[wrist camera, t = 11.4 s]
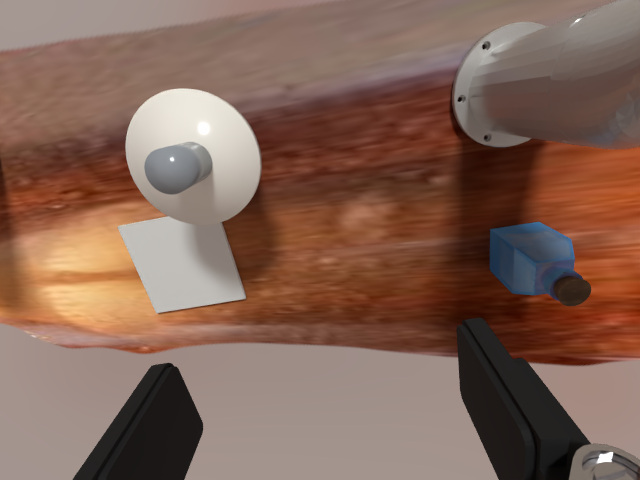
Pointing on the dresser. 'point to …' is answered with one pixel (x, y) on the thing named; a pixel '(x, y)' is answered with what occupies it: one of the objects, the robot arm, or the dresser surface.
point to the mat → (183, 263)
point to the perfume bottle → (537, 263)
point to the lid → (193, 156)
